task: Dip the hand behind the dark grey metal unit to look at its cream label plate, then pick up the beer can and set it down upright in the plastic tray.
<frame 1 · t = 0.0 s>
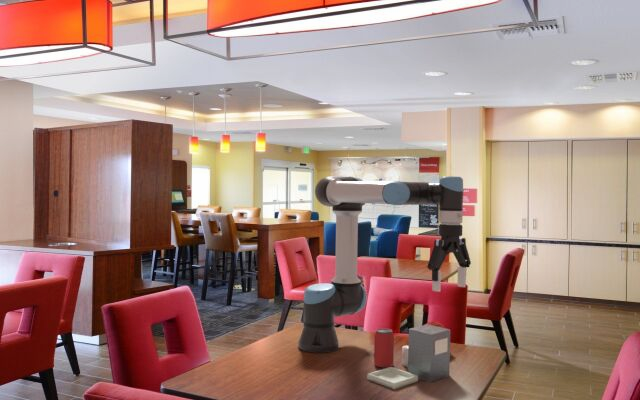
hand: (449, 288, 184), 28 cm above the table, fingers open, 13 cm apart
unit: (428, 375, 183), on the table
tray: (392, 380, 177), on the table
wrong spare: (409, 364, 193), on the table
apple: (433, 351, 210), on the table
beer can: (383, 365, 192), on the table
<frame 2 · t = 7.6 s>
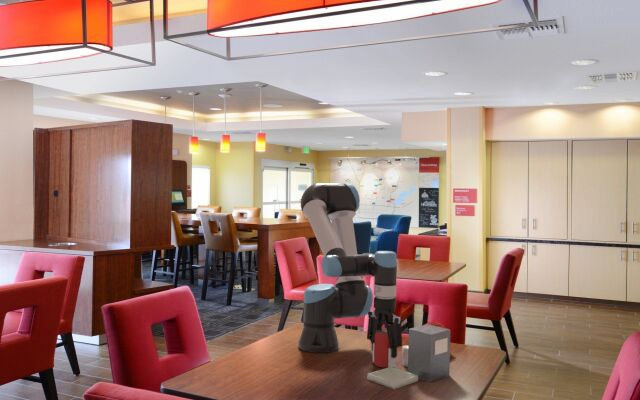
hand: (383, 363, 192), 1 cm above the table, fingers closed on beer can, 7 cm apart
beer can: (383, 365, 192), on the table, touching gripper
everything else where it was.
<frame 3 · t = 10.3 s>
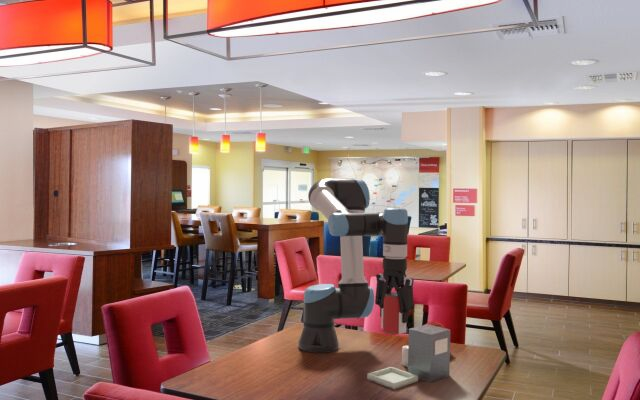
hand: (393, 330, 177), 16 cm above the table, fingers closed on beer can, 7 cm apart
beer can: (393, 332, 177), point 15 cm above the table, touching gripper
everything else where it was.
when the fingers open (2 cm above the table, at t = 12.9 s): beer can drops 1 cm, resting on tray.
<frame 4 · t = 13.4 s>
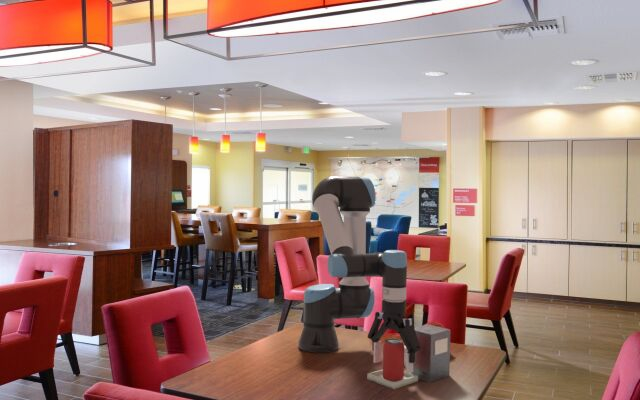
hand: (392, 367, 177), 4 cm above the table, fingers open, 13 cm apart
beer can: (393, 379, 177), resting on tray
everything else where it was.
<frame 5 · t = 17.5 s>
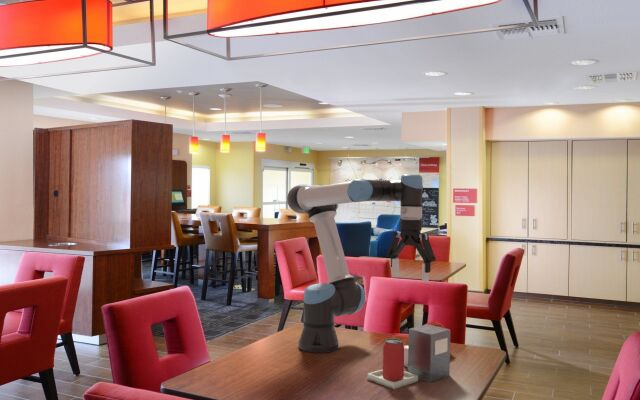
hand: (409, 279, 197), 29 cm above the table, fingers open, 13 cm apart
nothing on the table moved.
at the end: beer can inside the target area on the tray (0.2 cm from its centre), point 0.4 cm above the tray's base; beer can tilted 0°; the gripper is holding nothing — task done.
